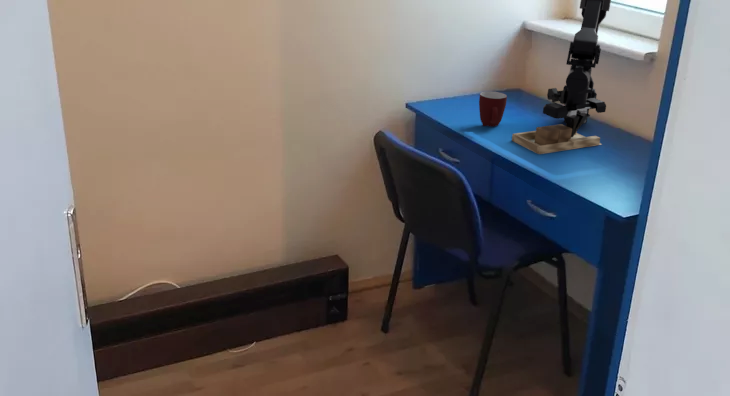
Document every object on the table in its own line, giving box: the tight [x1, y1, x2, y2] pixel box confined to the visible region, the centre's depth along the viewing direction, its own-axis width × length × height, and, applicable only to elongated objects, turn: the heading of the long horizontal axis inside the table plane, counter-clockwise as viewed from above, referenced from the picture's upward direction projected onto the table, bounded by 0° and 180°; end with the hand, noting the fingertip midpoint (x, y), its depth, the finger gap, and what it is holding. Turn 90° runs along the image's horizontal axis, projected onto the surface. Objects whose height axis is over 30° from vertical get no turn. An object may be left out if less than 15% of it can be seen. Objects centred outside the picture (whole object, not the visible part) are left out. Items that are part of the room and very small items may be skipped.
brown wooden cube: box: [535, 125, 560, 145], centre depth 208 cm, size 4×4×4 cm
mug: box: [478, 90, 508, 127], centre depth 222 cm, size 11×8×10 cm
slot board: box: [511, 130, 603, 155], centre depth 210 cm, size 23×12×3 cm, turn 117°
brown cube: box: [550, 123, 572, 143], centre depth 210 cm, size 4×4×4 cm
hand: (570, 136), depth 212 cm, fingers closed
